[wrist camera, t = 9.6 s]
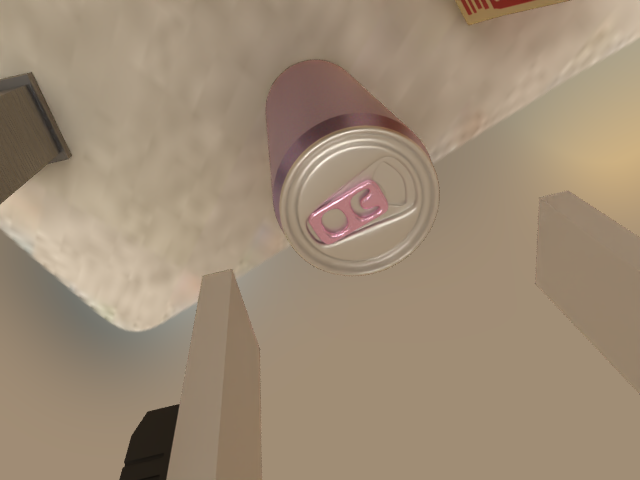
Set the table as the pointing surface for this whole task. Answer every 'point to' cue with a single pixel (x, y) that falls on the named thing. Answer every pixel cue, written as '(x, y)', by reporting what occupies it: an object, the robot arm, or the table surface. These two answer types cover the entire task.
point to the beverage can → (345, 172)
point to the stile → (25, 133)
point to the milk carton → (497, 8)
